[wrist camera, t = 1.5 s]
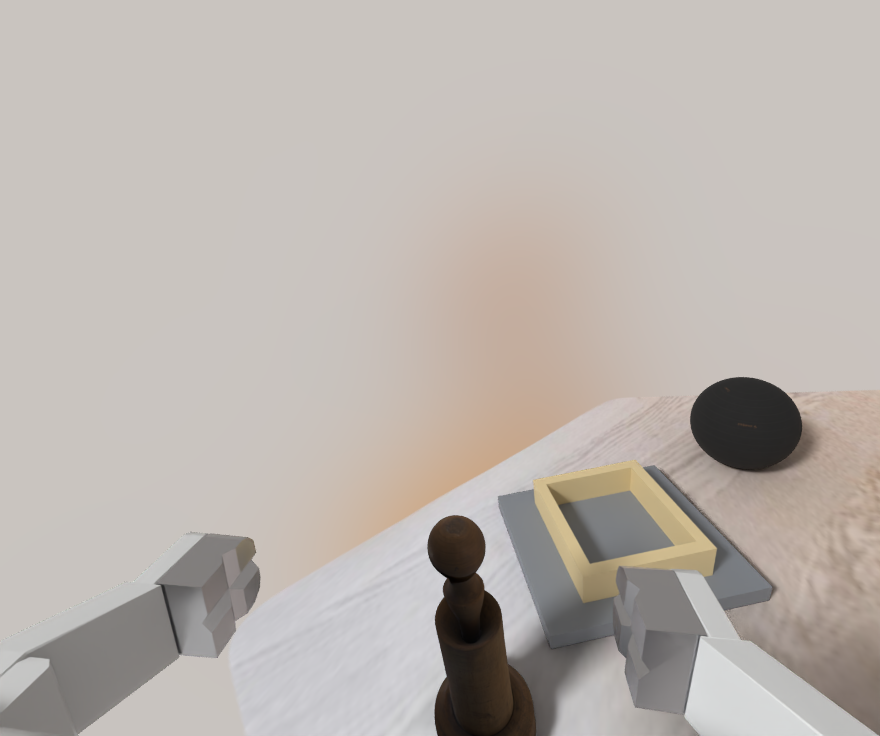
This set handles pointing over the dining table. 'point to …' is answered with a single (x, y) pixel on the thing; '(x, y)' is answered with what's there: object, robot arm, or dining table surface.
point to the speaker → (746, 423)
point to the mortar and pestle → (473, 643)
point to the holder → (614, 545)
